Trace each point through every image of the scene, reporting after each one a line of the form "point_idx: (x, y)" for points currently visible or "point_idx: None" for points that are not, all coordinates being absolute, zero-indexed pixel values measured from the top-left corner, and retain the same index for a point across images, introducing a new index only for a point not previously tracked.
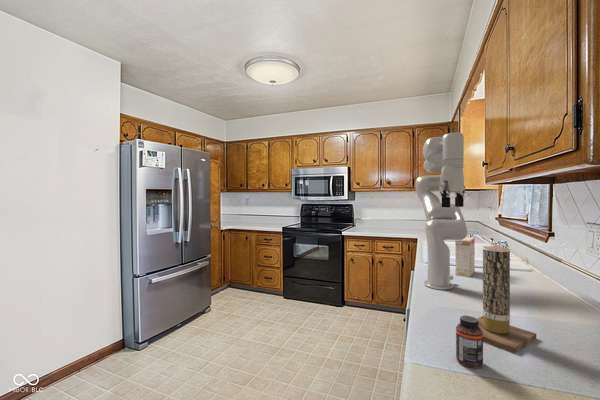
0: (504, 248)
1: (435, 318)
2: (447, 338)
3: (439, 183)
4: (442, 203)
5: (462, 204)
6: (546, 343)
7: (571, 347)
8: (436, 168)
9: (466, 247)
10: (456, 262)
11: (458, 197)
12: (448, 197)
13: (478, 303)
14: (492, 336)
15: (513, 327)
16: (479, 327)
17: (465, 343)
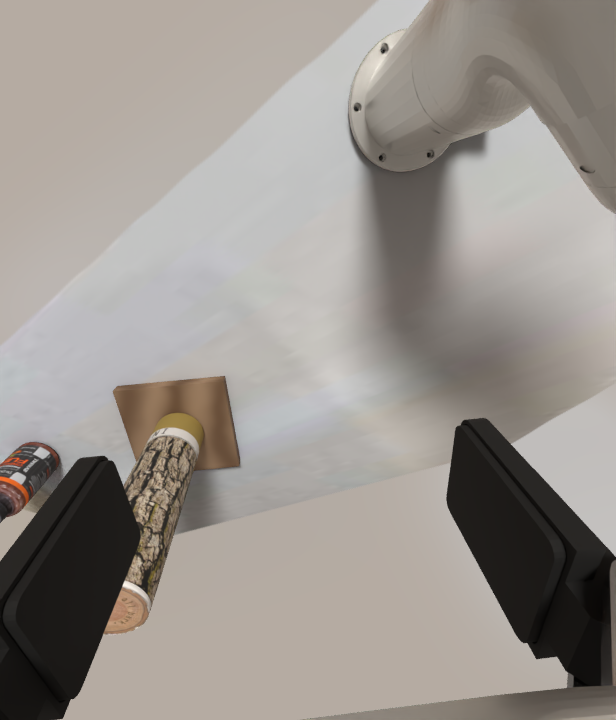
0: (129, 620)
1: (124, 316)
2: (68, 392)
3: None
4: (56, 508)
5: (466, 527)
6: (236, 472)
7: (258, 492)
8: None
9: None
10: None
11: (537, 600)
12: (29, 704)
13: (336, 306)
14: (145, 441)
15: (227, 438)
16: (16, 510)
17: None
